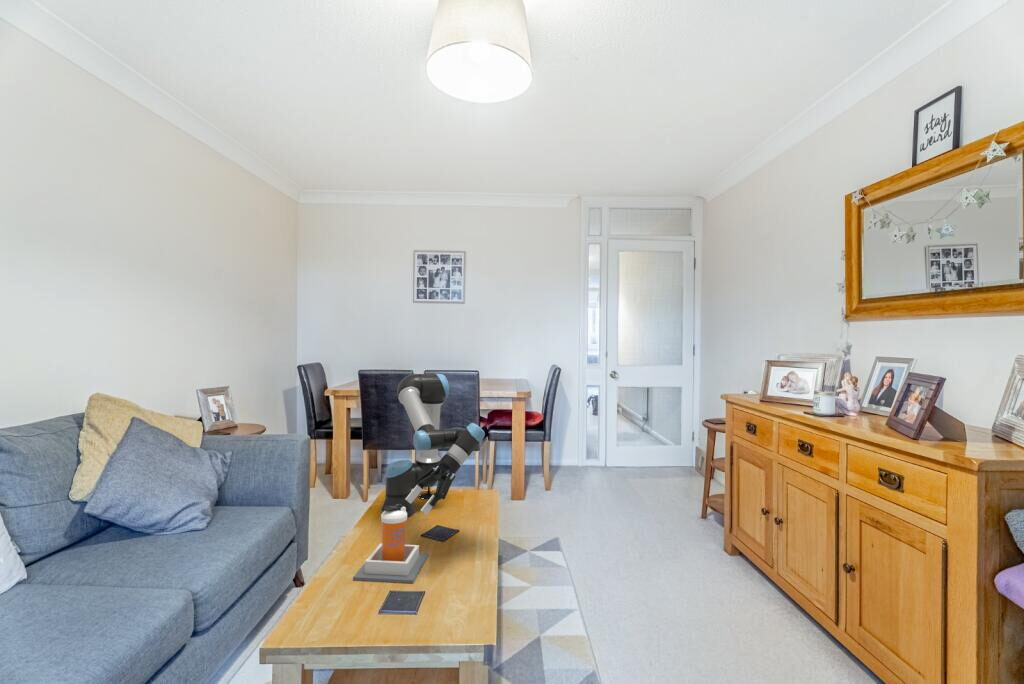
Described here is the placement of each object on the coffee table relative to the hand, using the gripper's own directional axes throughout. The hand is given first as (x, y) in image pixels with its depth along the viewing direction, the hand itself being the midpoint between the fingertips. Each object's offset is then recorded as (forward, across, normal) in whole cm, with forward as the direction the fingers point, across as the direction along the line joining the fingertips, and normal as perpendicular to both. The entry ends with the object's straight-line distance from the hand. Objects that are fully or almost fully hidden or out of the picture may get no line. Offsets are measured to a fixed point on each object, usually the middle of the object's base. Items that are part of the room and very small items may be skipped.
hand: (415, 507), depth 165 cm
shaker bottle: (+19, 0, -8) cm, 20 cm away
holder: (+19, 0, -8) cm, 21 cm away
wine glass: (-10, +64, -40) cm, 76 cm away
